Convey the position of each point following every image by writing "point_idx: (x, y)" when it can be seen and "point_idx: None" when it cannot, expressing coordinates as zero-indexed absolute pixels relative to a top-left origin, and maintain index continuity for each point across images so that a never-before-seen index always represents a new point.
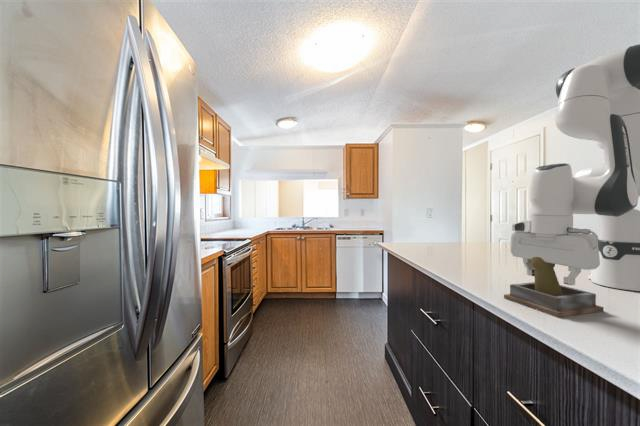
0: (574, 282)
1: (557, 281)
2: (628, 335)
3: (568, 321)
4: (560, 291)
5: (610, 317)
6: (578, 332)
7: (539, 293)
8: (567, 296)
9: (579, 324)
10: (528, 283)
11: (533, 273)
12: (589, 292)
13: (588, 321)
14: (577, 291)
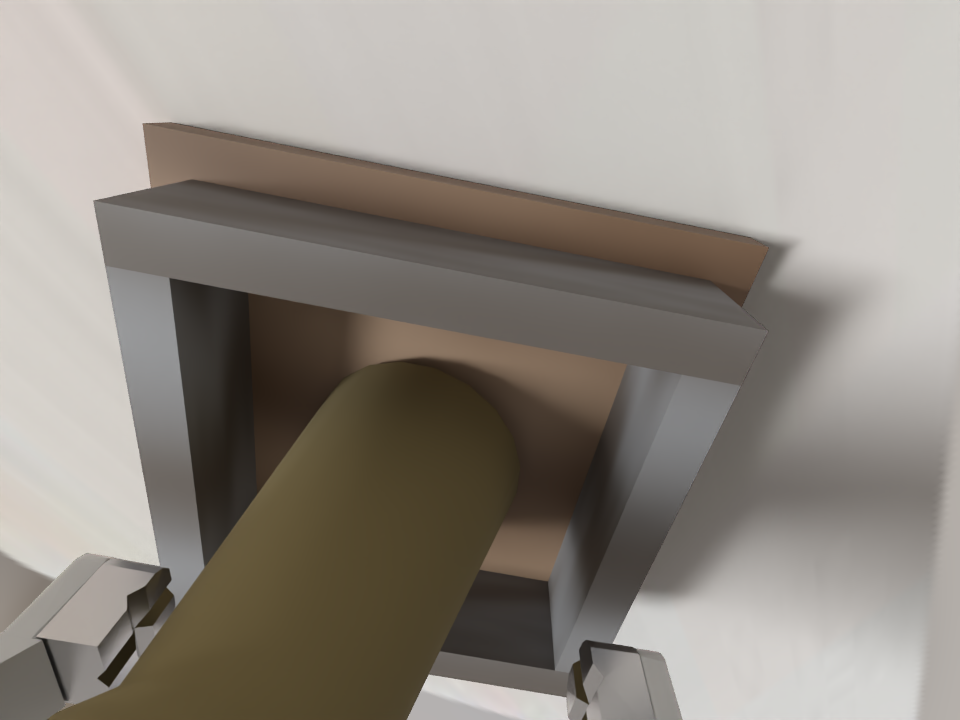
0: (665, 685)
1: (451, 597)
2: (907, 586)
3: (644, 616)
4: (496, 520)
5: (812, 362)
6: (719, 693)
7: (447, 675)
8: (608, 618)
9: (695, 616)
10: (166, 485)
11: (146, 628)
12: (699, 324)
13: (717, 546)
14: (580, 353)
